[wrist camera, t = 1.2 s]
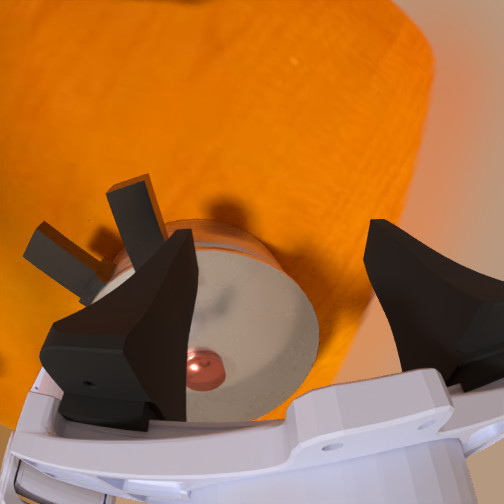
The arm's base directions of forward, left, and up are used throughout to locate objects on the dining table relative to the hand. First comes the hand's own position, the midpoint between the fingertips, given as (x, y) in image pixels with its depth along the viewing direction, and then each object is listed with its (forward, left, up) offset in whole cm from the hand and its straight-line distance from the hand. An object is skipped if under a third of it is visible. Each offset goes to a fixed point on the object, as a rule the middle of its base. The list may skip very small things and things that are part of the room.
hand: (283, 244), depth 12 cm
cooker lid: (-9, -3, -6) cm, 12 cm away
